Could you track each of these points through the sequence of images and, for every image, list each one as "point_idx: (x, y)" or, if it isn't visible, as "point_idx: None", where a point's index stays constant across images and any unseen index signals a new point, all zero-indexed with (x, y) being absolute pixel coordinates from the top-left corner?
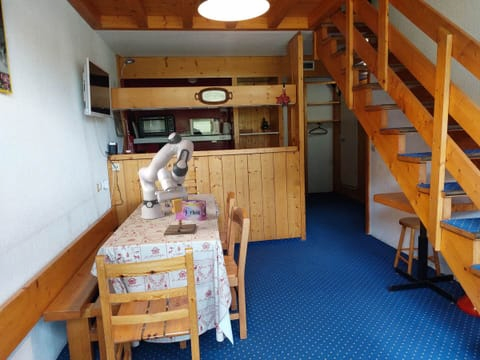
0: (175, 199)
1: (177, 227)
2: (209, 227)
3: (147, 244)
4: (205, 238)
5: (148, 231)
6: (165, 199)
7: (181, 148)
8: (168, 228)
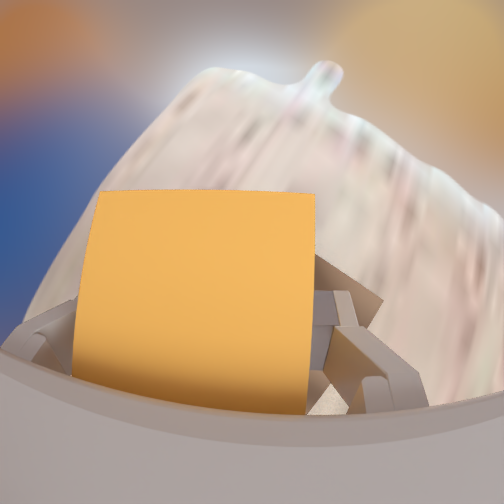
0: (172, 360)
1: None
2: (84, 246)
3: (478, 209)
4: (221, 98)
5: None
6: (497, 393)
7: None
8: (307, 394)
